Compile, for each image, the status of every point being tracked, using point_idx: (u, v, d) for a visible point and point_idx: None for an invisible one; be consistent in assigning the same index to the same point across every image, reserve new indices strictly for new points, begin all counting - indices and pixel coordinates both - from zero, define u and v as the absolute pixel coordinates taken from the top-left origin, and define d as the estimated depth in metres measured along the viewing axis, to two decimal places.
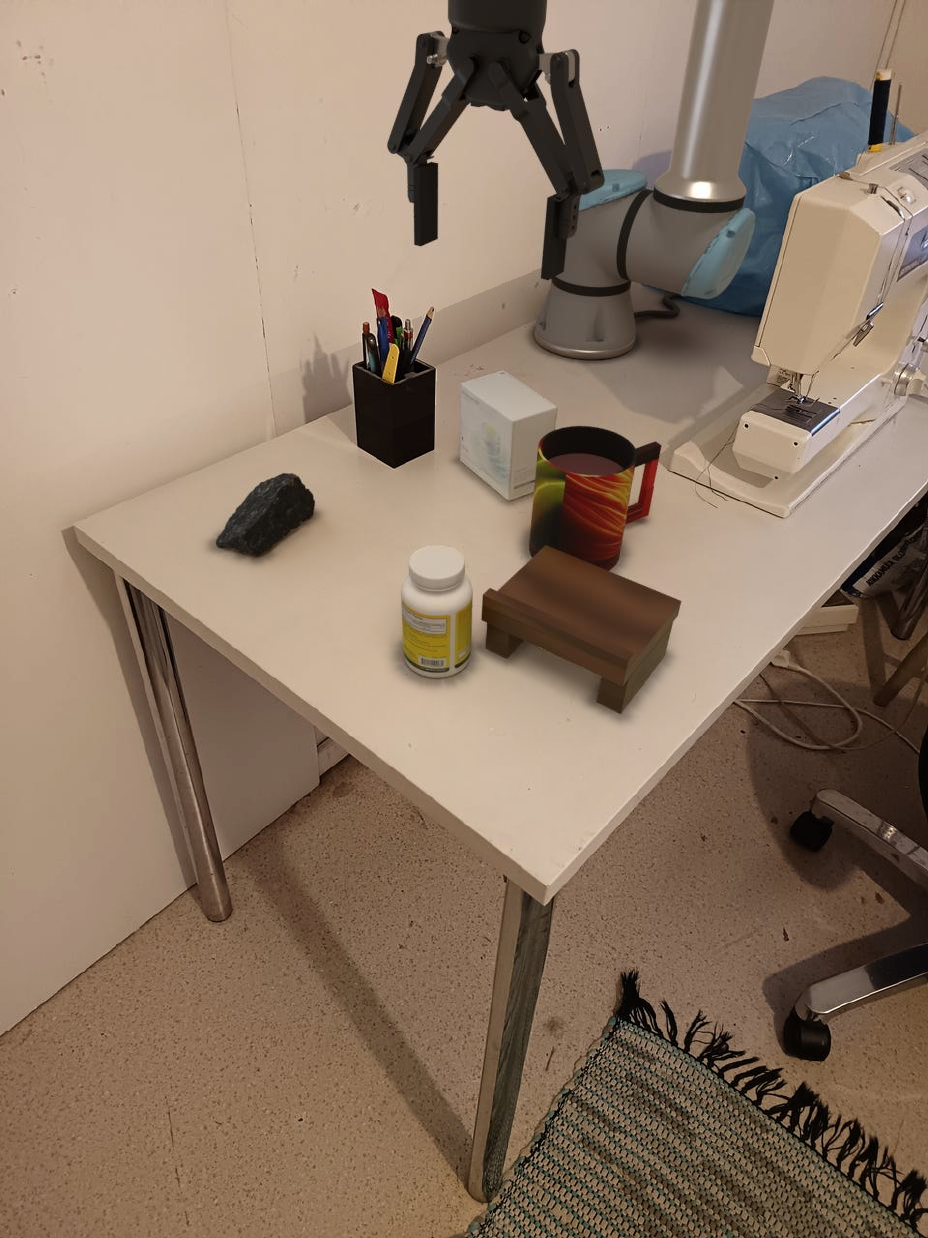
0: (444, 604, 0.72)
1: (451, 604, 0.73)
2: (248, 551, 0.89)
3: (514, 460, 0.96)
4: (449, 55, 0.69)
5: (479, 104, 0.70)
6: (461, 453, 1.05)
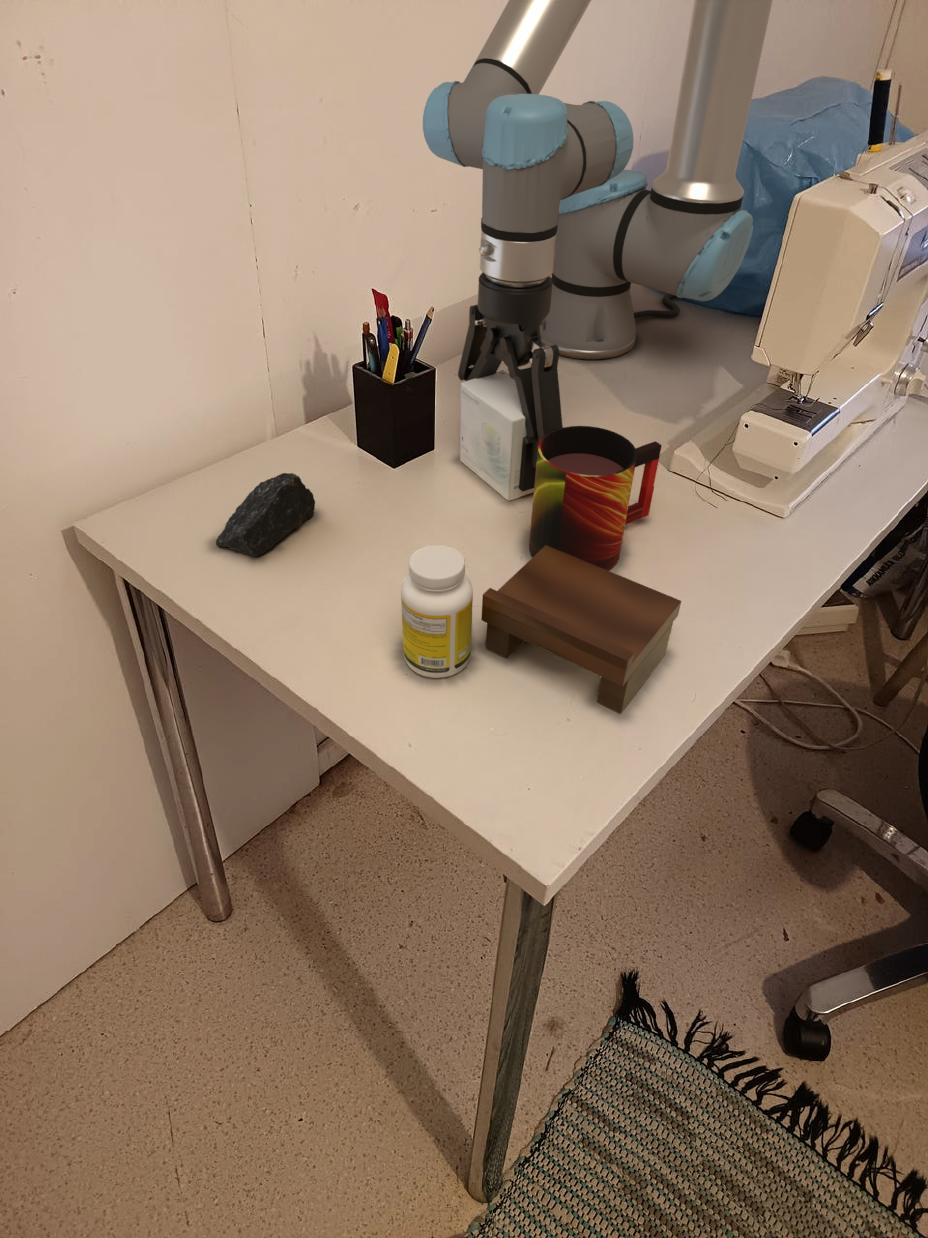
0: (444, 604, 0.72)
1: (451, 604, 0.73)
2: (248, 551, 0.89)
3: (514, 460, 0.96)
4: (485, 322, 0.94)
5: (499, 358, 0.94)
6: (461, 453, 1.05)
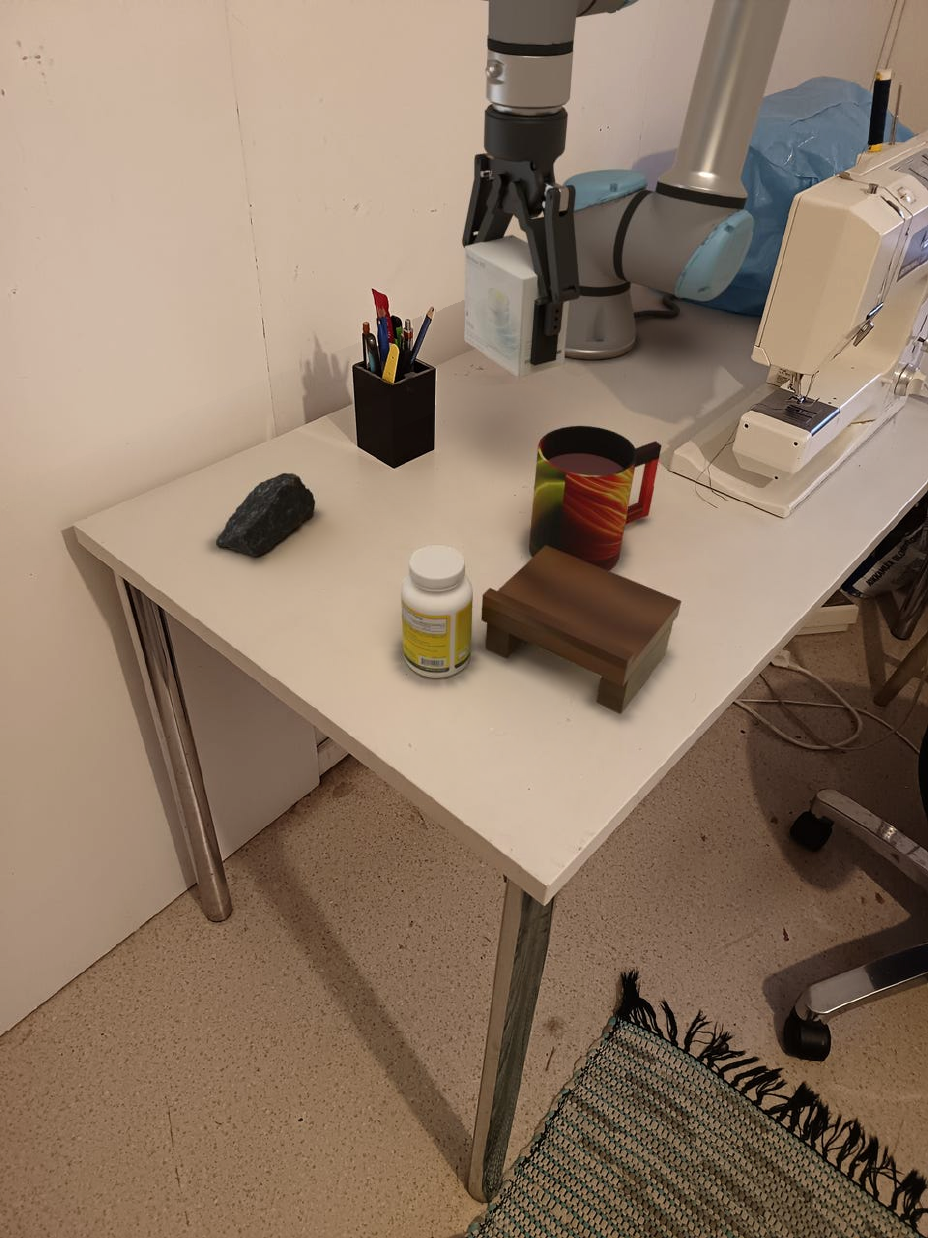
0: (444, 604, 0.72)
1: (451, 604, 0.73)
2: (248, 551, 0.89)
3: (524, 327, 0.86)
4: (492, 170, 0.84)
5: (508, 211, 0.85)
6: (466, 331, 0.95)
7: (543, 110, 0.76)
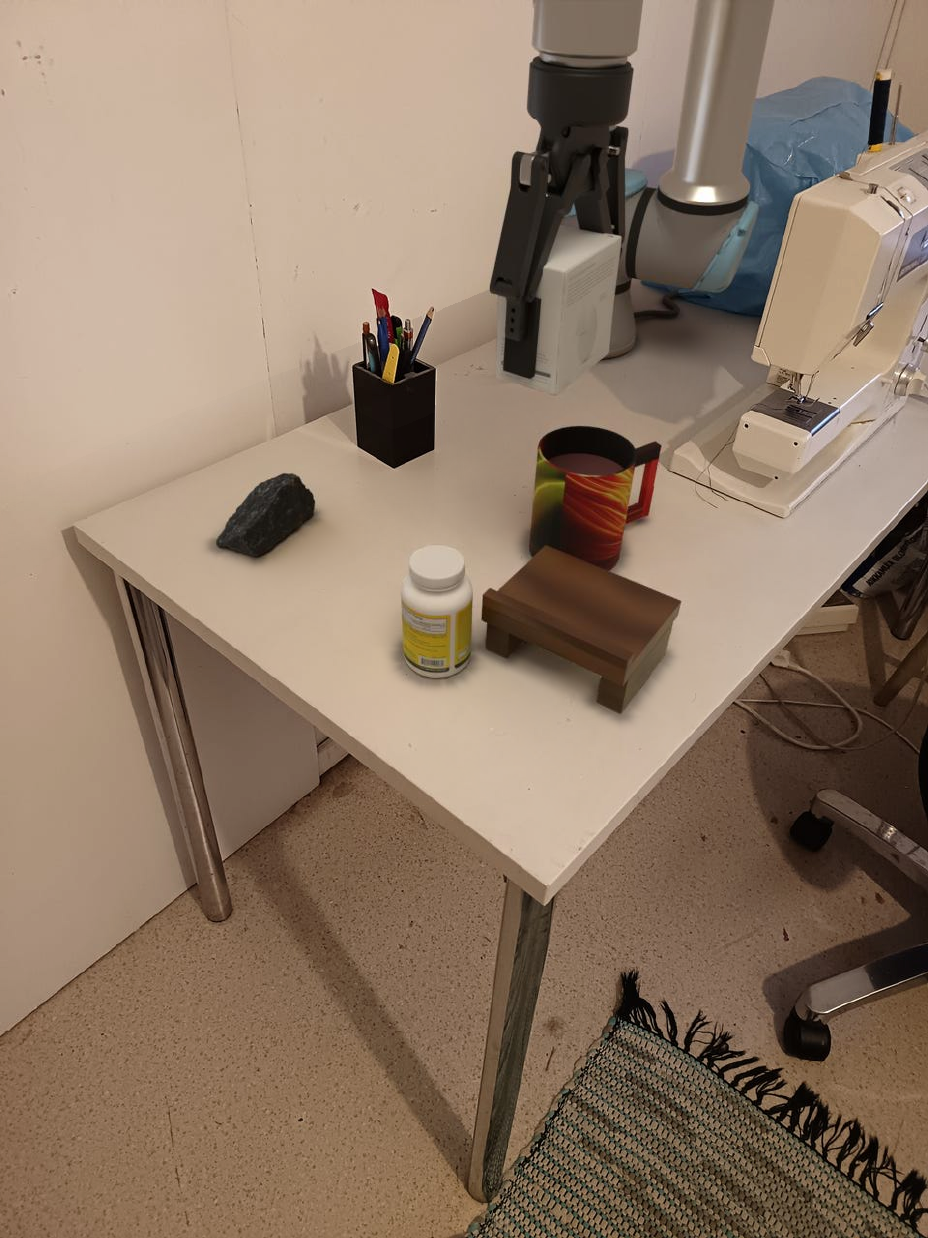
0: (444, 604, 0.72)
1: (451, 604, 0.73)
2: (248, 551, 0.89)
3: (500, 319, 0.72)
4: None
5: None
6: None
7: (556, 58, 0.61)
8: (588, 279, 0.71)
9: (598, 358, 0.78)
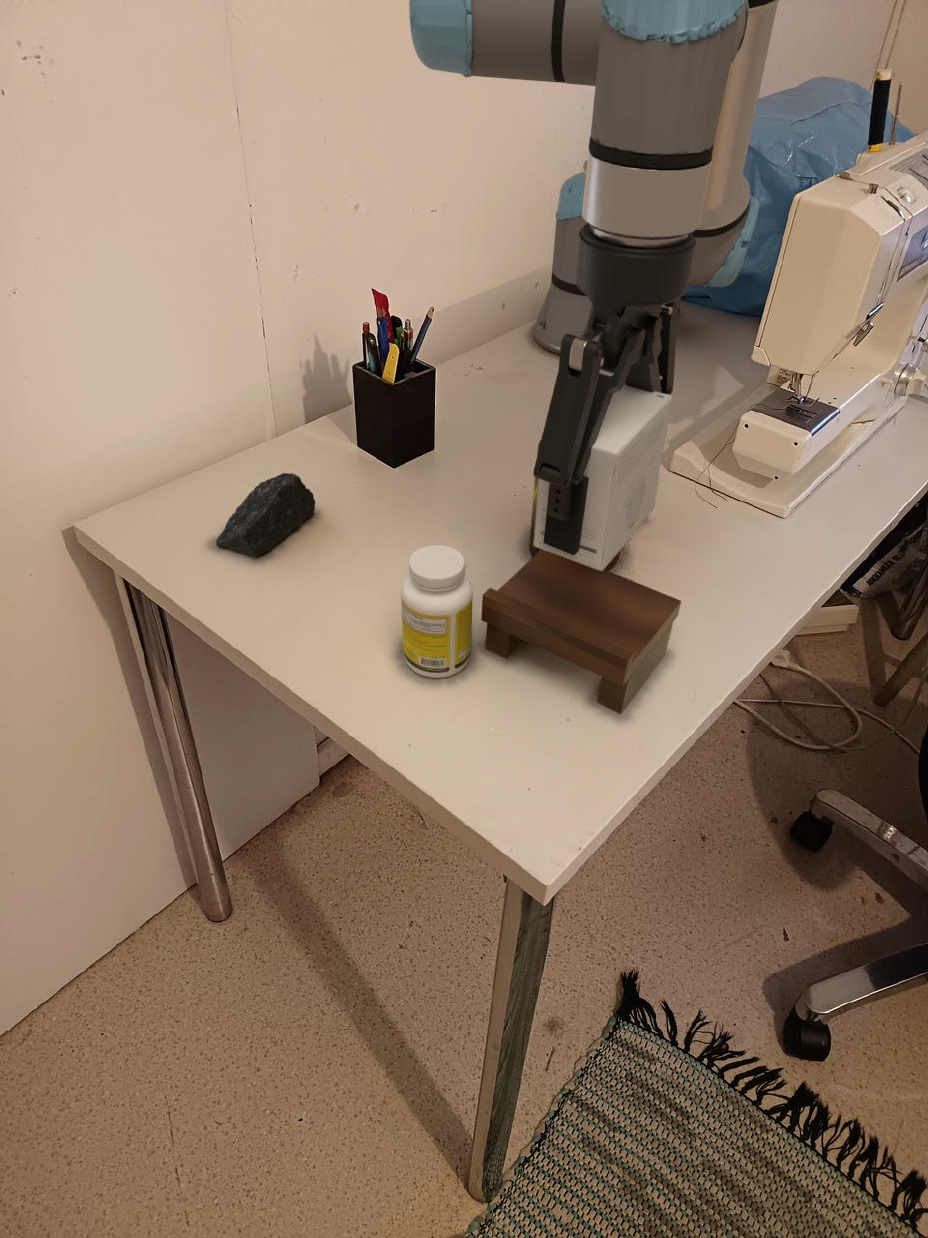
0: (444, 604, 0.72)
1: (451, 604, 0.73)
2: (248, 551, 0.89)
3: (541, 491, 0.66)
4: None
5: None
6: None
7: (611, 236, 0.54)
8: (638, 450, 0.64)
9: (644, 517, 0.72)
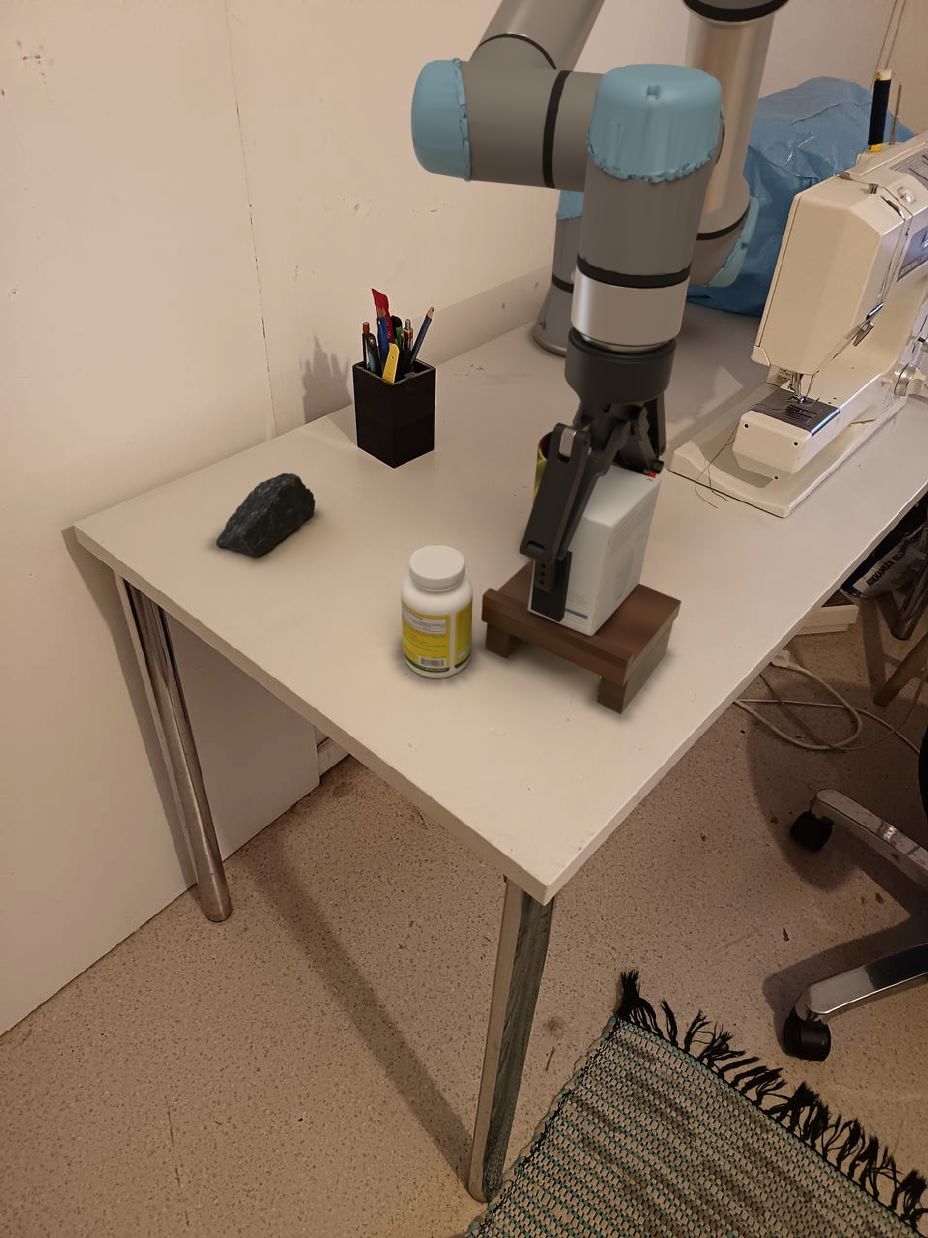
0: (444, 604, 0.72)
1: (451, 604, 0.73)
2: (249, 551, 0.89)
3: None
4: None
5: None
6: None
7: (598, 342, 0.59)
8: (629, 526, 0.70)
9: (630, 591, 0.77)
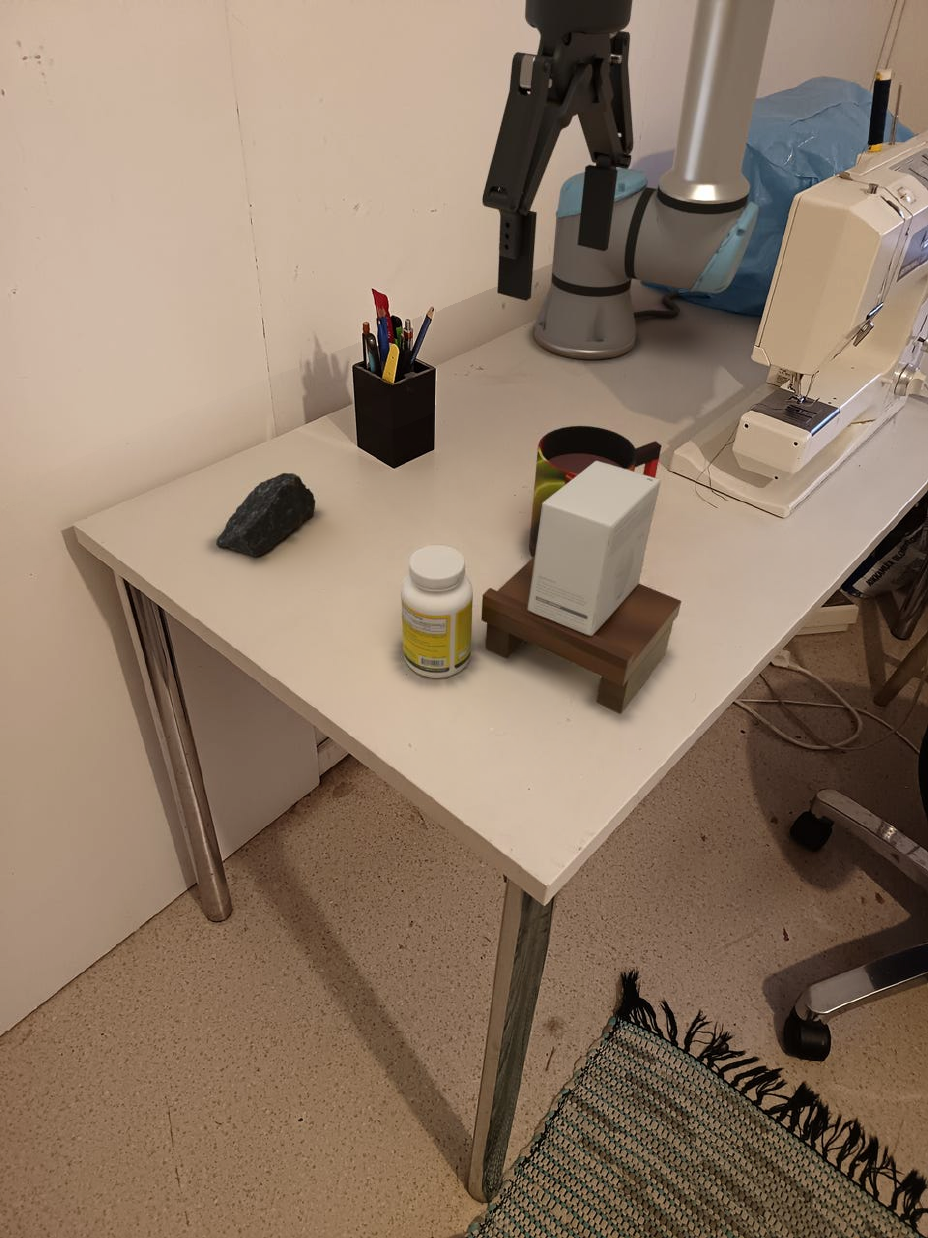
0: (444, 604, 0.72)
1: (452, 604, 0.73)
2: (249, 551, 0.89)
3: (538, 558, 0.71)
4: None
5: None
6: None
7: None
8: (629, 526, 0.70)
9: (630, 591, 0.77)
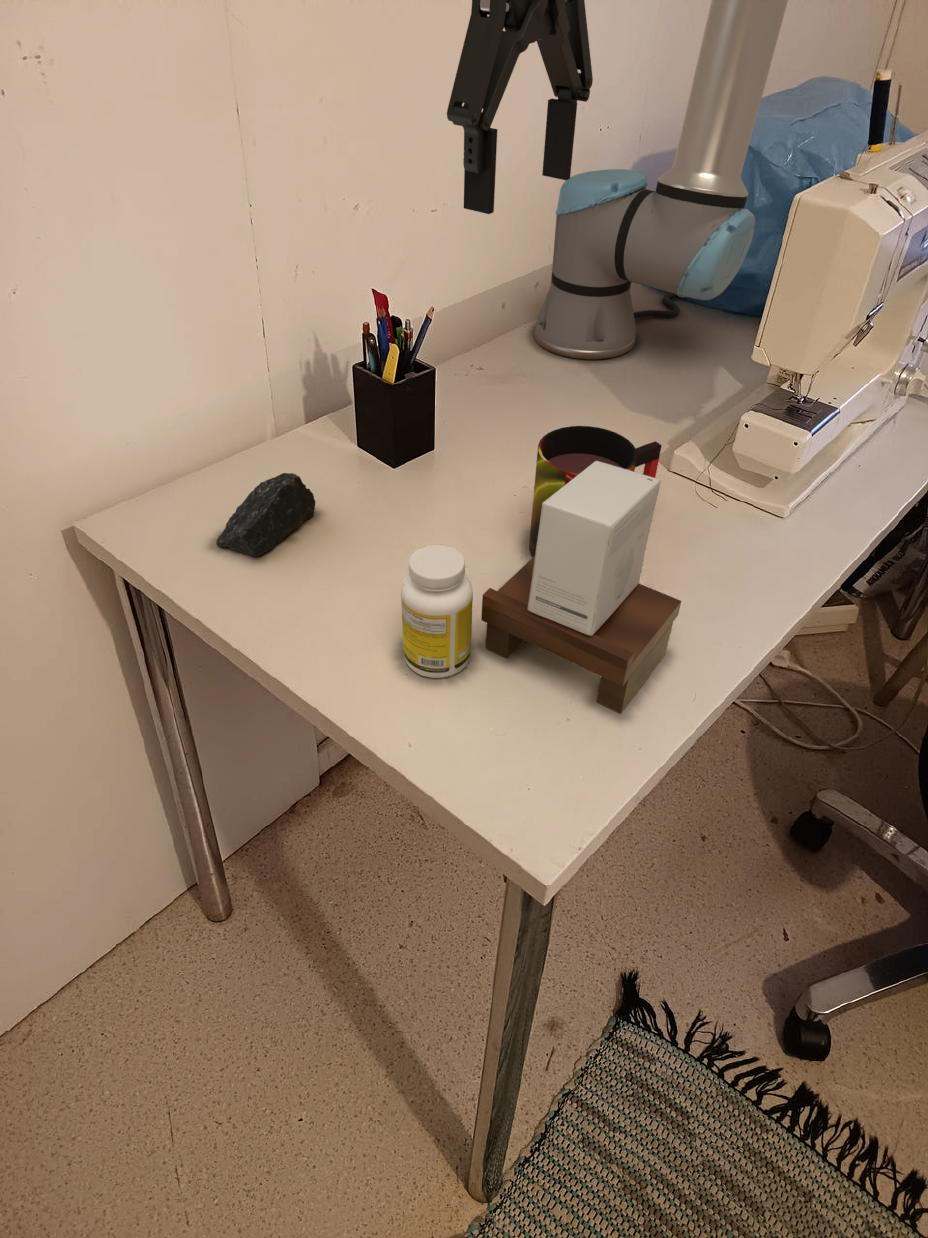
0: (444, 604, 0.72)
1: (451, 604, 0.73)
2: (249, 551, 0.89)
3: (538, 558, 0.71)
4: None
5: None
6: None
7: None
8: (629, 526, 0.70)
9: (630, 591, 0.77)
